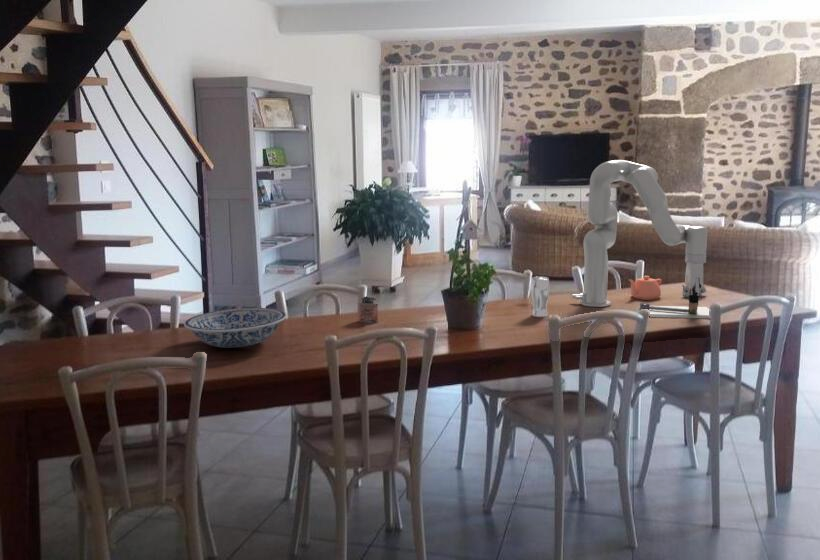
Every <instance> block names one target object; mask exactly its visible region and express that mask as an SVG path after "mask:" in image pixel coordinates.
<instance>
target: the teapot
mask: <svg viewBox="0 0 820 560" xmlns="http://www.w3.org/2000/svg"><path fill="white" fill-rule="evenodd" d="M629 282H630V295H631V296H632V297H633V298H634V299H636V300H645V301H650V300H658V299H659V298H660V297H661V296H662V291H661V284H662V279H661V278H656V279H655V278H651V277H650V275H643V277H640V278H637V279H636V280H633V279H629Z"/></svg>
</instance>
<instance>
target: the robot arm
mask: <svg viewBox="0 0 820 560" xmlns="http://www.w3.org/2000/svg"><path fill="white" fill-rule="evenodd" d="M658 180H659V174H658V173H657V170H656V169H655V168H653V167H652V166H648V165H645V164H639V163H636V162H632V161H629V160H624V159H614V160H608V161H604V162H601V163H600V164H599V165H598V166H596V167H595V169H594V170H593V171H592V172H591V175H590V179H589V191H588V192H589V193H588V205H587V219H588V221H589V223H590V224H592V225H593V226H594V228H593V229H591V230H589V231H588V232H587V233H586V234H585V235H584V238H583V253H584V272H583V273H584V274H583V276H584V277H583V291H582V293H580V294H577V293H573V294H572V299H575V300H579V304H580V305H581V306H584V307H591V308H605V307H609V306H610V305H611V303H612V302H611V300H609V299H608V283H609V282H608V279H609V277H608V276H609V274H608V273H609V257H608V249H611V248H612V247H613V246H614V244H615V243H616V240H617V229H618V228H617V227H618V208H617V207H616V205H615V204H614V203H613V202H612V201H611V196H612V194H611V193H612V191H611V184H612V183H614V182H625V183H628V184H630V185H632V187H633V188H634V191H636V193H637V195H638V196H639V198H640V199H641V202H642V203H643V205H644V206H645V208H646V210H647V214H648V216H649V218H650V222H651V224H652V225H653V228H654V230H655V231H656V233H657V235H658V236H659V238H660V239H661V241H662V242H663V243H664V244H665V245H666V246H669V247H674V246H677V245H680V244H685V253H684V255H685V257H684V263H686V267H685V274H684V275H685V276H684V286H687V287H688V288H689V294H691V295H689V297H688V303H689V302H696V303H698V304H699V297H700V296H699V288H700V289H701V288H702V286H703V283H704V264H705V263H707V249H708V248H707V246H708V228H707V227H706V226H704V225H703V226H702V225H685V224H680V223H679V224H678V223H677V224H676V223H675V222H674V220H673V218H672V216H671V215H670V212H669V207H668V204H669V201H668V200H669V199H668V197H667V195H666V193H665V192H664V190H663V189H662V187H661V186H660V184H659V182H658Z"/></svg>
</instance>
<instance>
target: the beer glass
mask: <svg viewBox="0 0 820 560" xmlns="http://www.w3.org/2000/svg"><path fill="white" fill-rule="evenodd" d="M530 284H531V287H530V288H531V290H530V292H531V293H530V294H531V300H532V313H531V316H532V317H535V318H546V317H548V316H549V315H548V308H547V307H548V306H547V305H548V302H549V301H548V300H549V295H550V278H549V277H547V276H533V277H531V283H530Z"/></svg>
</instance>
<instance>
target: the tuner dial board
mask: <svg viewBox="0 0 820 560" xmlns="http://www.w3.org/2000/svg"><path fill="white" fill-rule="evenodd" d="M654 306H655V307H667V308H679V309H689V306H678V305H677V306H675V305H670V306H669V305H654ZM638 308H639V310H640V305H639V307H638ZM649 310H650V317H649V318H670V319H672V318H674V319H675V318H677V319H678V318H679V319H710V318H709V310H710V308H709V307H707V306H698V308H697V314H689V313H687V312H675V311H663V310H652V309H649Z"/></svg>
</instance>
